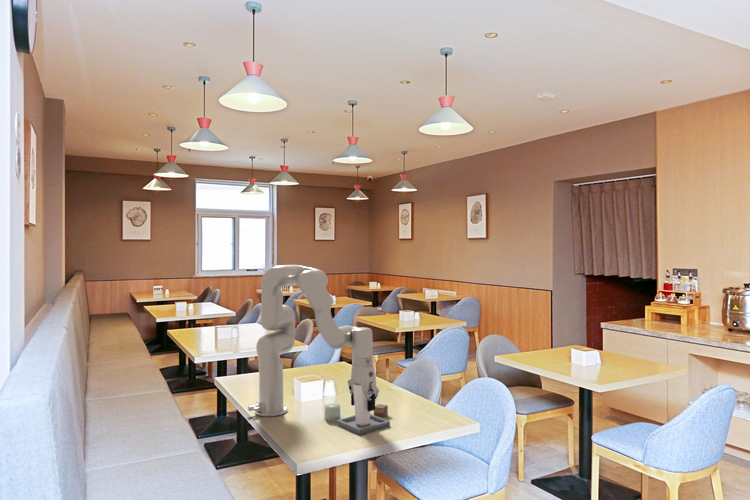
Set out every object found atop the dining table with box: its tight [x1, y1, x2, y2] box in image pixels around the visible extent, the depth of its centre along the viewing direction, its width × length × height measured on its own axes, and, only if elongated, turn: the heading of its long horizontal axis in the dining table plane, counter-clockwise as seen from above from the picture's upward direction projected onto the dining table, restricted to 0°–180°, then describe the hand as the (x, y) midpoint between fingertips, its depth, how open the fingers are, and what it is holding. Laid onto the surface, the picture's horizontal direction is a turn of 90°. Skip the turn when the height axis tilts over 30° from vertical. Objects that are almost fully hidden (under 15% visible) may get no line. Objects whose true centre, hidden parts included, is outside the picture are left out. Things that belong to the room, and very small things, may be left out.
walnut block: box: [373, 403, 389, 419], centre depth 197 cm, size 4×4×4 cm
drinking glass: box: [353, 384, 371, 426], centre depth 186 cm, size 7×7×15 cm
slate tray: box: [336, 413, 391, 436], centre depth 186 cm, size 14×14×2 cm
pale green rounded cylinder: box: [324, 403, 341, 422], centre depth 194 cm, size 6×6×5 cm
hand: (362, 407), depth 186 cm, fingers open, 9 cm apart
